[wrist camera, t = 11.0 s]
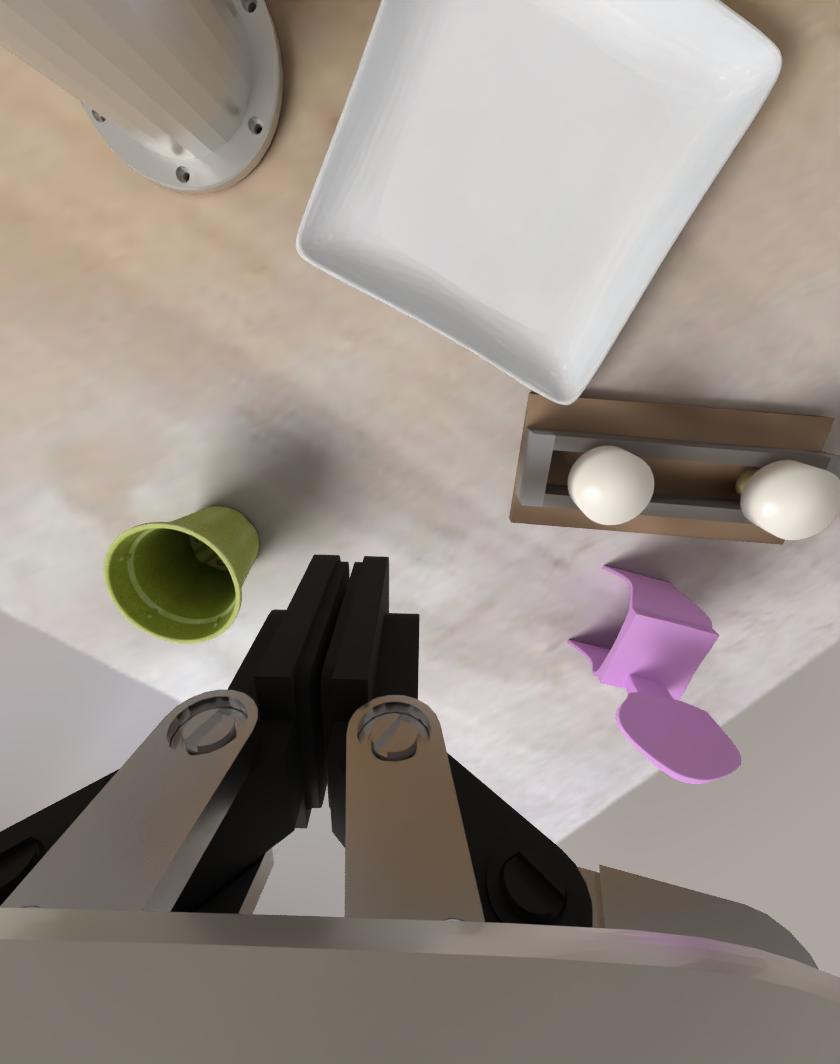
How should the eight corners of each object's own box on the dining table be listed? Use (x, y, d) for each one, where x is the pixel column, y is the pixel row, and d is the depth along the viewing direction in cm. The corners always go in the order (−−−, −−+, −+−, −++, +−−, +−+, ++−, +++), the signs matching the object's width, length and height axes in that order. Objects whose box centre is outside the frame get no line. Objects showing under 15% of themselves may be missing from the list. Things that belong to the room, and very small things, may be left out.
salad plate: (759, 83, 27) (802, 48, 24) (560, 407, 35) (573, 413, 31) (448, -144, 24) (450, -219, 21) (303, 263, 32) (288, 254, 28)
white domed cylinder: (729, 448, 33) (779, 465, 28) (795, 454, 33) (857, 471, 28) (708, 510, 35) (752, 537, 30) (771, 516, 35) (825, 543, 30)
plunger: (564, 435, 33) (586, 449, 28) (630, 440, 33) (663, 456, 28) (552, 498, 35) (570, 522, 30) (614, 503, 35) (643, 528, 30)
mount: (529, 392, 34) (539, 397, 30) (823, 416, 34) (868, 424, 30) (509, 518, 38) (516, 535, 34) (774, 539, 37) (809, 559, 34)
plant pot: (279, 493, 37) (236, 532, 29) (280, 592, 41) (242, 651, 33) (166, 479, 37) (93, 515, 29) (177, 580, 41) (113, 636, 33)
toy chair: (684, 580, 39) (820, 707, 25) (640, 660, 42) (739, 811, 29) (594, 556, 39) (683, 672, 25) (556, 639, 42) (616, 783, 28)
